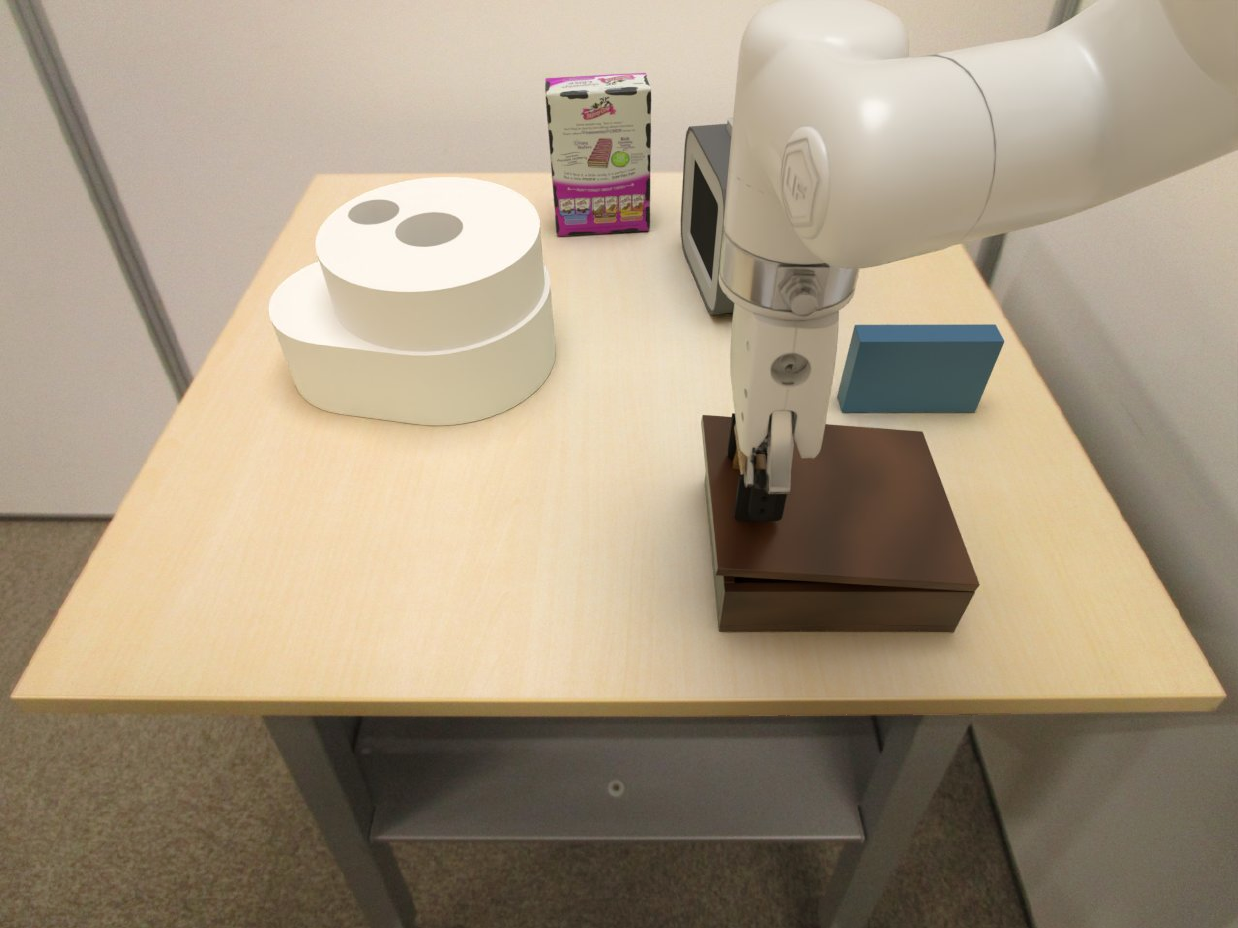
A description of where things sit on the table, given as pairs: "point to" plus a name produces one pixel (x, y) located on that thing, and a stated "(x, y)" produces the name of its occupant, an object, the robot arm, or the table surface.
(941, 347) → the blue hardcover book
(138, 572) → the table surface
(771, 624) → the box
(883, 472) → the lid
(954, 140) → the robot arm
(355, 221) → the container
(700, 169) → the alarm clock
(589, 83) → the candy bar box
